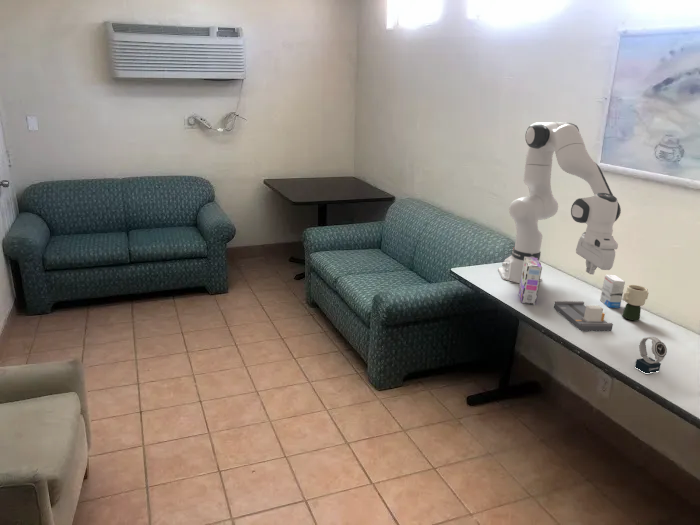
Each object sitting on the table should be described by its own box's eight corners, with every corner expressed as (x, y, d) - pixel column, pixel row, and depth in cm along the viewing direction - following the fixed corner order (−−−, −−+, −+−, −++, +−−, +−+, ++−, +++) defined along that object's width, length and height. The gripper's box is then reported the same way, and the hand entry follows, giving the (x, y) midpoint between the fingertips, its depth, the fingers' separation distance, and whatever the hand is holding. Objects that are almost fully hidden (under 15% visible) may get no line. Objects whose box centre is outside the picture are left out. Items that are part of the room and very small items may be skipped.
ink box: (620, 308, 226) (626, 281, 222) (608, 307, 226) (614, 281, 222) (610, 300, 234) (616, 274, 231) (599, 300, 234) (604, 274, 230)
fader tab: (581, 319, 207) (584, 304, 205) (596, 319, 207) (599, 305, 206) (586, 323, 203) (589, 309, 201) (602, 323, 203) (605, 309, 202)
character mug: (635, 314, 220) (642, 284, 216) (648, 321, 214) (656, 290, 210) (612, 315, 218) (619, 284, 214) (625, 323, 211) (632, 291, 207)
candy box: (536, 305, 224) (542, 266, 219) (521, 303, 225) (527, 265, 220) (532, 293, 237) (538, 257, 232) (518, 292, 238) (524, 255, 233)
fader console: (553, 307, 222) (555, 296, 221) (581, 308, 224) (583, 296, 222) (580, 331, 201) (583, 318, 200) (611, 331, 203) (614, 318, 201)
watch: (651, 377, 170) (659, 345, 167) (630, 365, 177) (637, 334, 174) (664, 375, 172) (672, 343, 169) (643, 363, 179) (650, 332, 176)
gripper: (575, 229, 212) (568, 263, 216) (604, 245, 193) (595, 282, 197) (591, 230, 213) (583, 264, 217) (621, 246, 194) (612, 283, 198)
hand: (589, 273), depth 207 cm, fingers closed
